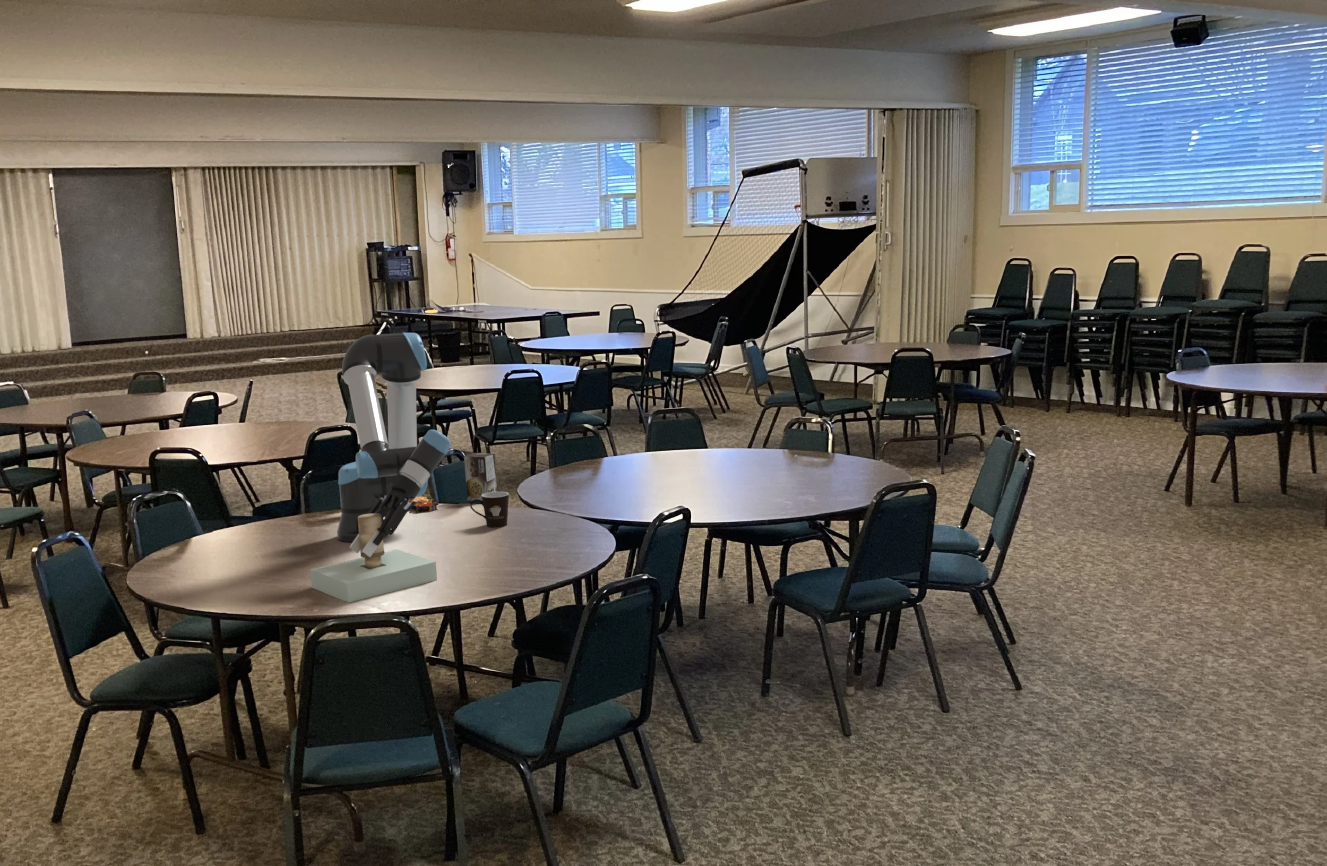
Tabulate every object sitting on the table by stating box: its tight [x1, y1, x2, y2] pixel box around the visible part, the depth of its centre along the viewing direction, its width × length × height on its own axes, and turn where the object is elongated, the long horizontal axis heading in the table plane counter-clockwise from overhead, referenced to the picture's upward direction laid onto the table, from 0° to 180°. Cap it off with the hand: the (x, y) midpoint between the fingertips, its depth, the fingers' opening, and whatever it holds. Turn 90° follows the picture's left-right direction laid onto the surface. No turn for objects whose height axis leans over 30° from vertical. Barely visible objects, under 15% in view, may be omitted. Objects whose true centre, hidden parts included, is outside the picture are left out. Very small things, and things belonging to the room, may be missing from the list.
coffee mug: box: [469, 491, 510, 529], centre depth 369 cm, size 12×9×10 cm
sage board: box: [309, 549, 438, 603], centre depth 308 cm, size 20×26×5 cm
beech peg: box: [358, 514, 385, 569], centre depth 306 cm, size 6×6×15 cm
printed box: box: [463, 452, 498, 502], centre depth 407 cm, size 9×6×16 cm
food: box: [408, 495, 439, 514], centre depth 397 cm, size 22×19×4 cm
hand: (359, 552), depth 304 cm, fingers closed on beech peg, 6 cm apart
